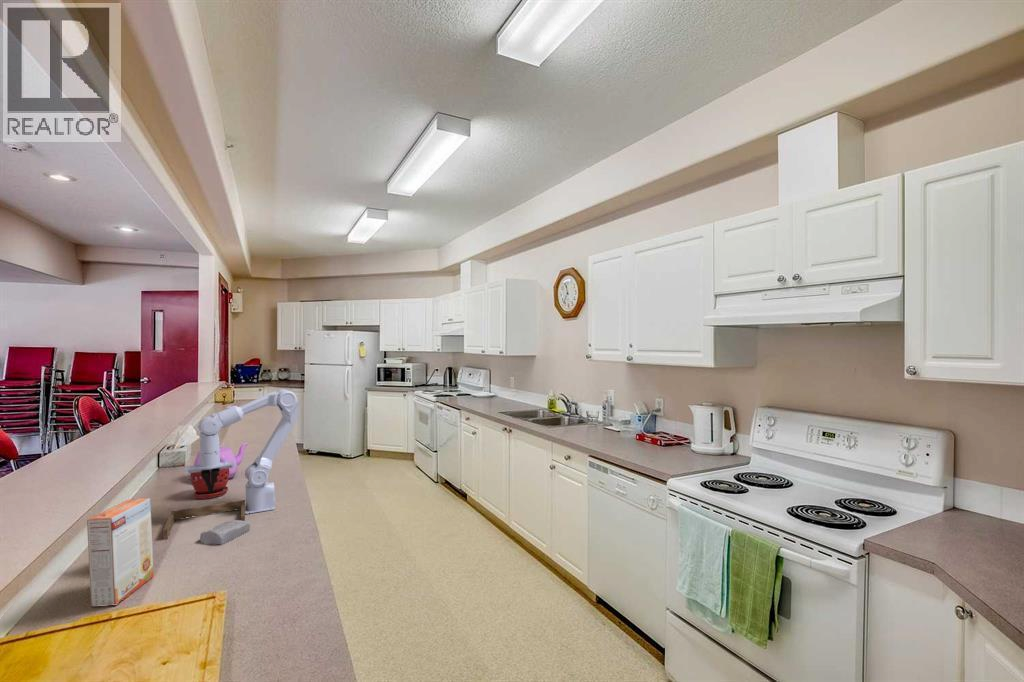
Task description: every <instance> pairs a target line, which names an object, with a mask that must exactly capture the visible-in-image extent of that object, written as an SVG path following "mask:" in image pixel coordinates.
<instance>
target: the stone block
mask: <svg viewBox="0 0 1024 682" xmlns="http://www.w3.org/2000/svg"><path fill="white" fill-rule="evenodd" d="M250 528H251V524H250V522H249V521H246V520H245V521H241V519H240V520H239V519H234V520H228V521H224V522H223V523H220V524H218V525H216V526H214V527H213V528H210V529H209V530H206V531H203V532H201V533H200V536H199V539H200V544H203V543H204V544H203V545H215V544H220V546H223V545H226V544H227V542H228V543H229V541H230V542H232V541H234V540H235V539H237V538H239V537H241V536H242V534H243V535H245V534H247V533H248V532H249V531H250ZM247 531H248V532H247ZM246 532H247V533H246ZM244 533H245V534H244ZM240 535H241V536H240ZM238 536H239V537H238ZM236 537H237V538H236ZM234 538H235V539H234ZM225 543H226V544H225ZM222 544H223V545H222Z"/></svg>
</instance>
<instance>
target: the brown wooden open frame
mask: <svg viewBox="0 0 1024 682" xmlns="http://www.w3.org/2000/svg"><path fill="white" fill-rule="evenodd" d="M245 506H246V499H241V500H233V501H228V502H222V503H217V504H216V503H214V504H209V505H203V506H197V507H195V506H194V507H189V508H188V507H187V508H182V509H177V510H171V511H170V514H169V516H168V519H167V520H166V523H165V525H164V528H163V531H162V533H163V535H162V537H163V540H164V539H165V540H168V539H169V537H168V536H170V534H171V532H170V531H172V529H173V527H172V526H174V523H175V522H174V521H177V520H176V519H179V520H182V519H181V518H185V519H187V518H186V517H191V518H193V517H192V516H198V517H200V516H199V515H204V516H206V515H205V514H210V515H213V514H212V513H216V514H219V513H218V512H222V513H226V512H225V511H228V512H230V511H229V510H235V509H241V510H240V511H241V512H240V513H241V514H240V520H241V521H245V522H246V514H245ZM235 511H236V510H235Z"/></svg>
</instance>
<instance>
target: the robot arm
mask: <svg viewBox="0 0 1024 682" xmlns="http://www.w3.org/2000/svg"><path fill="white" fill-rule="evenodd" d="M268 406H269V407H278V409H279V411H280V413H281V416H282V417H281V419H280V420H279V422H278V424H277V425H276V427H275V429H274V430H273V432H272V434H271V435H270V437H269V439H268V440H267V442H266V444H265V445H264V447H263V448H262V451H261V452H260V453H259V455H258V456H257V457H256V458H255V459H254V460H253V462H251V464H249V466H247V468H245V472H244V476H245V478H246V479H247V481H246V484H245V515H249V513H250V514H254V513H261V512H267V511H273V510H275V509H276V506H275V505H276V501H277V500H276V496H275V495H276V493H275V492H276V491H275V482H269V481H268V480H269V474H270V471H271V469H272V466H273V462H274V460H275V458H276V457H277V455H278V453H279V452H280V450H281V448H282V446H283V445H284V443H285V441H286V439H287V438H288V436H289V434H290V433H291V431H292V429H293V427H294V426H295V425H296V422H297V420H298V419H299V400H298V397H297V395H296V393H295V392H293V391H291V390H288V389H285V388H279V389H277V390H275V391H271V392H269V393H266V394H264V395H262V396H259V397H257V398H255V399H254V400H252V401H249V402H248V403H245V404H243V405H241V406H237V405H232V406H231V405H228V406H226V409H223V410H221V411H219V412H212V413H211V416H209V415H207V416H205V417H203V418H201V420H200V421H199V423H198V425H197V426H198V429H199V431H200V434H199V437H200V438H199V451H200V464H201V465H196V466H194V465H190V466H185V468H184V475H188V474H190V473H194V472H201V476H202V477H203V479H204V480H205V482H206V485H207V487H208V492H213V491H214V484H215V481H216V478H217V476H218V474H219V471H220V469H226V468H235V461H232V462H220V447H221V446H220V443H221V442H220V437H219V431H220V430H221V429H225V428H227V427H229V426H231V425H234V424H236V423H238V422H240V421H242V420H243V418H244V416H245V415H247V414H250V413H252V412H255V411H258V410H259V409H263V408H265V407H268ZM210 470H211V481H210Z"/></svg>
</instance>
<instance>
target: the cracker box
mask: <svg viewBox="0 0 1024 682" xmlns="http://www.w3.org/2000/svg"><path fill="white" fill-rule="evenodd" d="M151 511H152V510H151V497H150V498H149V497H148V498H129V499H126V500H125V501H122V502H120V503H118V504H117V505H114V506H112V507H110V508H108V509H107V510H106V509H105V510H104V511H102V512H100V513H98V514H95V515H94V516H92V517H90V518H88V519H87V520H86V525H87V527H86V529H87V551H88V566H89V567H88V568H89V571H88V572H89V585H90V586H89V589H90V605H91V606H98V605H112V604H117V603H119V602H120V601H121V600H123V599H124V598H125V599H126V597H127V596H128V595H129V596H130V595H132V594H133V593H135V592H136V591H137V590H138V589H140V588H141V587H142V586H143V585H144V584H146V583H147V582H148V581H150V580H151V579H152V578H153V577H154V576H155V575H154V553H153V533H152V512H151ZM135 590H136V591H135ZM132 592H133V593H132ZM131 593H132V594H131ZM129 596H128V597H129ZM128 597H127V598H128ZM125 599H124V600H125ZM124 600H123V601H124ZM121 602H122V601H121ZM121 602H120V603H121ZM120 603H119V604H120ZM91 606H90V607H91Z"/></svg>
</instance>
